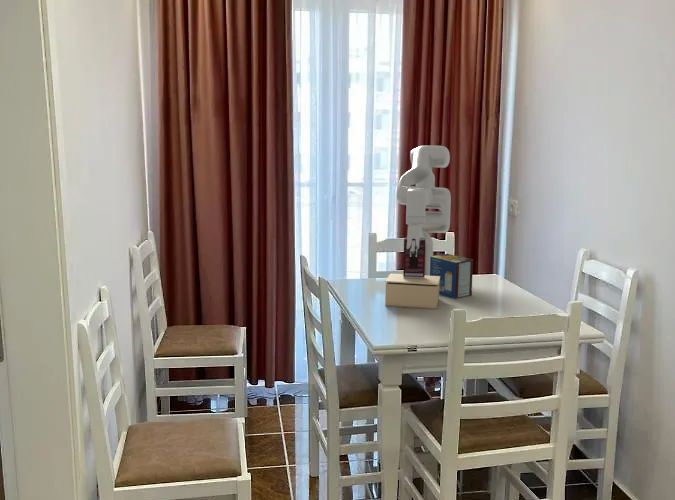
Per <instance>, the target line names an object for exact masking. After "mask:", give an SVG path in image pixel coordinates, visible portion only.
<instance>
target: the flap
mask: <svg viewBox="0 0 675 500" xmlns="http://www.w3.org/2000/svg"><path fill="white" fill-rule="evenodd" d="M439 280H440V276H427V275H425V277H424V279H412V278H403V273H390V274H389V275H388V276H387V277H386V279H385V281H384V282H385V283H387V282H392V283H409V284H427V285H438V283H439Z"/></svg>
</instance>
